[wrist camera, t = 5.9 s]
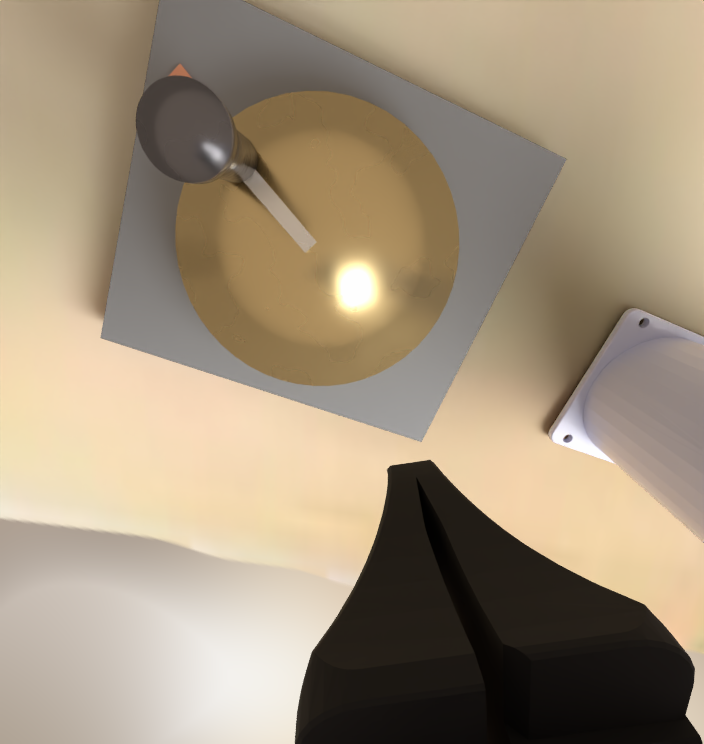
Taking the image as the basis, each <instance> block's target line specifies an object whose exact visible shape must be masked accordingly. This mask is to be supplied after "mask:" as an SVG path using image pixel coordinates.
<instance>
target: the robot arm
mask: <svg viewBox="0 0 704 744" xmlns="http://www.w3.org/2000/svg"><path fill="white" fill-rule="evenodd" d="M643 318H644V321H643V323H642V324H641V325H639V322H640V320H641V319H643ZM566 435H568V437H567V438H565V439H563V438H564V437H565V436H566ZM548 436H549V438H550V439H551V440H552V441H553V442H554V443H557V444H560V445H562V446H565V447H568V448H571V449H574V450H577V451H580V452H583V453H586V454H589V455H591V456H594V457H597V458H600V459H603V460H606V461H609V462H612V463H615V464H616V465H617V466H619V467H620V468H621V469H622V470H623V471H624V472H625V473H626V474H627V475H629V476H630V477H631V478H632V479H633V480H634V481H635V482H636V483H638V484H639V485H640V486H641V487H642V488H643V489H644V490H645V491H646V492H648V493H649V494H650V495H651V496H652V497H653V498H654V499H655V500H656V501H658V502H659V503H660V504H661V505H662V506H663V507H664V508H665V509H667V510H668V511H669V512H670V513H671V514H672V515H673V516H674V517H675V518H677V519H678V520H679V521H680V522H681V523H682V524H683V525H684V526H685V527H687V528H688V529H689V530H690V531H691V532H692V533H693V534H694V535H696V536H697V537H698V538H699V539H700V540H701V541H702V542H703V543H704V337H703V336H701V335H699V334H696V333H694V332H692V331H689V330H687V329H685V328H682V327H680V326H678V325H675V324H673V323H671V322H668V321H666V320H664V319H661V318H659V317H657V316H654V315H652V314H650V313H647V312H645V311H643V310H640V309H637V308H631V309H628V310H627V311H625V312H624V314H623V315H622V316H621V318H620V320H619V321H618V323H617V324H616V326H615V328H614V329H613V331H612V332H611V334H610V335H609V337H608V339H607V340H606V342H605V343H604V345H603V346H602V348H601V350H600V351H599V353H598V354H597V356H596V357H595V359H594V361H593V362H592V364H591V365H590V367H589V369H588V370H587V372H586V373H585V375H584V376H583V378H582V380H581V381H580V383H579V384H578V386H577V387H576V389H575V391H574V392H573V394H572V395H571V397H570V398H569V400H568V402H567V403H566V405H565V406H564V408H563V410H562V411H561V413H560V414H559V416H558V417H557V419H556V421H555V422H554V424H553V425H552V427H551V428H550V430H549V432H548ZM387 472H388V487H387V495H386V500H385V505H384V510H383V514H382V518H381V521H380V525H379V528H378V532H377V535H376V538H375V541H374V544H373V546H372V549H371V551H370V554H369V556H368V559H367V561H366V563H365V566H364V568H363V570H362V572H361V574H360V576H359V578H358V580H357V582H356V584H355V586H354V588H353V590H352V592H351V594H350V595H349V597H348V599H347V600H346V602H345V604H344V605H343V607H342V609H341V610H340V612H339V614H338V616H337V617H336V619H335V620H334V622H333V623H332V625H331V626H330V627H329V629H328V630H327V632H326V633H325V634H324V636H323V637H322V639H321V640H320V641H319V643H318V644H317V646H316V647H315V649H314V650H313V651H312V654H311V657H310V660H309V663H308V667H307V670H306V674H305V677H304V681H303V685H302V689H301V694H300V700H299V706H298V711H297V721H296V735H295V744H702V740H701V737H700V735H699V734H698V733H697V731H696V730H695V728H694V727H693V725H692V724H691V722H690V721H689V720H688V718H687V717H686V715H685V714H686V710H687V707H688V703H689V700H690V696H691V692H692V689H693V684H694V672H695V668H694V666H693V663H692V661H691V658H690V657H689V656H688V654H687V653H686V652H685V650H684V649H683V648H682V647H681V645H680V644H679V643H678V642H677V640H676V639H675V638H674V637H673V635H672V634H671V633H670V632H669V631H668V630H667V628H666V627H665V626H664V625H663V624H662V623H661V622H660V621H659V620H658V619H657V618H656V617H655V616H654V615H653V614H652V612H651V611H650V610H649V609H648V608H647V607H646V606H645V605H644V604H642V603H640V602H637V601H635V600H633V599H630V598H628V597H626V596H623V595H621V594H619V593H616V592H614V591H612V590H609V589H607V588H605V587H602V586H600V585H598V584H596V583H593V582H591V581H589V580H587V579H585V578H583V577H581V576H579V575H577V574H575V573H573V572H571V571H569V570H568V569H566V568H564V567H562V566H560V565H558V564H557V563H555V562H553V561H552V560H550V559H548V558H546V557H545V556H543V555H541V554H540V553H538V552H536V551H535V550H533V549H531V548H530V547H528V546H527V545H525V544H524V543H522V542H521V541H519V540H518V539H516V538H515V537H514V536H512V535H511V534H509V533H508V532H507V531H505V530H504V529H503V528H501V527H500V526H499V525H497V524H496V523H495V522H494V521H492V520H491V519H490V518H489V517H488V516H486V515H485V514H484V513H483V512H482V511H480V510H479V509H478V508H477V507H476V506H475V505H474V504H473V503H472V502H471V501H469V500H468V499H467V498H466V497H465V496H464V495H463V494H462V493H461V492H460V491H459V490H458V489H457V488H456V487H455V486H454V485H453V484H452V483H451V482H450V481H449V480H448V479H447V477H446V476H445V475H444V474H443V473H442V472H441V471H440V470H439V468H438V467H437V466H436V465H435V464H434V463H433V462H432V461H431V460H427V461H420V462H413V463H406V464H399V465H392V466H390V467H389V468H388V469H387Z"/></svg>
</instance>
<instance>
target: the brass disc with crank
mask: <svg viewBox="0 0 704 744" xmlns="http://www.w3.org/2000/svg"><path fill="white" fill-rule="evenodd" d="M136 128H137V134H138V138H139V141H140V144H141V146H142V149H143V151H144V152H145V154H146V156H147V157H148V159H149V160H150V161H151V162H152V164H153V165H154V166H155V167H156V168H157V169H158V170H159V171H161V172H162V173H163V174H165V175H167V176H168V177H170V178H172V179H175V180H177V181H181V182H184V185H183V188H182V191H181V195H180V199H179V203H178V207H177V216H176V224H175V246H176V253H177V260H178V266H179V270H180V274H181V278H182V281H183V285H184V287H185V290H186V292H187V294H188V297H189V299H190V302H191V304H192V305H193V307H194V309H195V311H196V313H197V314H198V316H199V318H200V319H201V321H202V322H203V323H204V325H205V326H206V328H207V329H208V330H209V332H210V333H211V334H212V335H213V336H214V337H215V338H216V339H217V340H218V342H219V343H220V344H221V345H222V346H223V347H224V348H226V349H227V350H228V351H229V352H230V353H231V354H233V355H234V356H235V357H236V358H238V359H239V360H241V361H242V362H244V363H245V364H247V365H248V366H250V367H252V368H254V369H256V370H258V371H260V372H261V373H263V374H266V375H268V376H271V377H274V378H276V379H279V380H282V381H286V382H291V383H295V384H301V385H310V386H333V385H341V384H347V383H351V382H356V381H360V380H363V379H366V378H368V377H371V376H373V375H376V374H378V373H380V372H382V371H384V370H386V369H388V368H390V367H391V366H393V365H394V364H396V363H397V362H399V361H400V360H402V359H403V358H404V357H406V356H407V355H408V354H409V353H410V352H411V351H412V350H414V349H415V348H416V347H417V346H418V345H419V344H420V343H421V341H422V340H423V339H424V338H425V337H426V336H427V335H428V333H429V332H430V331H431V329H432V328H433V326H434V325H435V323H436V322H437V320H438V319H439V317H440V315H441V313H442V311H443V309H444V307H445V306H446V304H447V301H448V298H449V296H450V293H451V290H452V288H453V284H454V280H455V276H456V272H457V266H458V257H459V226H458V219H457V212H456V208H455V204H454V201H453V197H452V194H451V190H450V188H449V186H448V183H447V181H446V179H445V176H444V174H443V172H442V170H441V168H440V167H439V165H438V163H437V162H436V160H435V158H434V157H433V155H432V154H431V152H430V151H429V150H428V149H427V147H426V146H425V145H424V143H423V142H422V141H421V140H420V138H419V137H417V136H416V135H415V134H414V133H413V132H412V131H411V130H410V129H409V128H408V127H407V126H406V125H405V124H404V123H402V122H401V121H400V120H398V119H397V118H395V117H394V116H393V115H391V114H390V113H389V112H387V111H385V110H383V109H381V108H379V107H377V106H376V105H374V104H372V103H370V102H367V101H364V100H362V99H359V98H356V97H353V96H350V95H346V94H340V93H335V92H329V91H300V92H292V93H285V94H282V95H278V96H275V97H271V98H268V99H265V100H263V101H261V102H259V103H256V104H254V105H252V106H250V107H248V108H246V109H245V110H243V111H242V112H240V113H239V114H237V115H236V116H234V117H233V118H232V116H231V113H230V112H229V110H228V108H227V107H226V106H225V104H224V103H223V102H222V101H221V100H220V98H219V97H218V96H217V95H216V94H215V93H214V92H213V91H212V90H210V89H209V88H208V87H207V86H205V85H204V84H202V83H201V82H199V81H197V80H195V79H193V78H190V77H186V76H177V75H174V76H167V77H164V78H161V79H159V80H157V81H155V82H154V83H153V84H151V85H150V86H149V87H148V88H147V89H146V91H145V92H144V94H143V95H142V97H141V99H140V102H139V104H138V108H137V113H136Z"/></svg>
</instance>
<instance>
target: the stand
mask: <svg viewBox="0 0 704 744" xmlns="http://www.w3.org/2000/svg"><path fill="white" fill-rule="evenodd" d="M174 75H177V76H186V77H190V78H193V79H195V80H197V81H199V82H201V83H202V84H204V85H205V86H207V87H208V88H209V89H210V90H212V91H213V92H214V93H215V94H216V95H217V96H218V97H219V98H220V100H221V101H222V102H223V103H224V104H225V106H226V107H227V108H228V110H229V112H230V113H231V116H232V118H233V117H234V116H236V115H237V114H239V113H240V112H242V111H243V110H245V109H246V108H248V107H250V106H252V105H254V104H256V103H259V102H261V101H263V100H265V99H268V98H271V97H275V96H278V95H282V94H285V93H292V92H300V91H329V92H335V93H340V94H346V95H350V96H353V97H356V98H359V99H362V100H364V101H367V102H370V103H372V104H374V105H376V106H377V107H379V108H381V109H383V110H385V111H387V112H389V113H390V114H391V115H393V116H394V117H395V118H397V119H398V120H400V121H401V122H402V123H404V124H405V125H406V126H407V127H408V128H409V129H410V130H411V131H412V132H413V133H414V134H415V135H416V136H417V137H419V138H420V140H421V141H422V142H423V143H424V145H425V146H426V147H427V149H428V150H429V151H430V152H431V154H432V155H433V157H434V158H435V160H436V162H437V163H438V165H439V167H440V168H441V170H442V172H443V174H444V176H445V179H446V181H447V183H448V186H449V188H450V190H451V194H452V197H453V201H454V204H455V208H456V212H457V219H458V226H459V257H458V266H457V272H456V276H455V280H454V284H453V288H452V290H451V293H450V296H449V298H448V301H447V304H446V306H445V307H444V309H443V311H442V313H441V315H440V317H439V319H438V320H437V322H436V323H435V325H434V326H433V328H432V329H431V331H430V332H429V333H428V335H427V336H426V337H425V338H424V339H423V340H422V341H421V343H420V344H419V345H418V346H417V347H416V348H415V349H414V350H412V351H411V352H410V353H409V354H408V355H407V356H406V357H404V358H403V359H402V360H400V361H399V362H397V363H396V364H394V365H393V366H391V367H390V368H388V369H386V370H384V371H382V372H380V373H378V374H376V375H373V376H371V377H368V378H366V379H363V380H360V381H356V382H351V383H347V384H341V385H333V386H310V385H301V384H295V383H291V382H286V381H282V380H279V379H276V378H274V377H271V376H268V375H266V374H263V373H261V372H260V371H258V370H256V369H254V368H252V367H250V366H248V365H247V364H245V363H244V362H242V361H241V360H239V359H238V358H236V357H235V356H234V355H233V354H231V353H230V352H229V351H228V350H227V349H226V348H224V347H223V346H222V345H221V344H220V343H219V342H218V340H217V339H216V338H215V337H214V336H213V335H212V334H211V333H210V332H209V330H208V329H207V328H206V326H205V325H204V323H203V322H202V321H201V319H200V318H199V316H198V314H197V313H196V311H195V309H194V307H193V305H192V304H191V302H190V299H189V297H188V294H187V292H186V290H185V287H184V285H183V281H182V278H181V274H180V270H179V266H178V260H177V253H176V246H175V224H176V216H177V207H178V203H179V199H180V195H181V191H182V188H183V185H184V182H181V181H177V180H175V179H172V178H170V177H168V176H167V175H165V174H163V173H162V172H161V171H159V170H158V169H157V168H156V167H155V166H154V165H153V164H152V162H151V161H150V160H149V159H148V157H147V156H146V154H145V152H144V151H143V149H142V146H141V144H140V141H139V138H138V134H137V132H136V138H135V144H134V149H133V155H132V161H131V167H130V172H129V178H128V184H127V190H126V195H125V201H124V207H123V213H122V218H121V224H120V230H119V235H118V241H117V247H116V253H115V258H114V264H113V270H112V276H111V281H110V287H109V293H108V299H107V304H106V310H105V316H104V322H103V327H102V333H101V338H102V339H105V340H108V341H111V342H114V343H118V344H121V345H124V346H127V347H130V348H133V349H136V350H139V351H142V352H145V353H148V354H152V355H155V356H158V357H161V358H164V359H167V360H170V361H173V362H176V363H179V364H182V365H186V366H189V367H192V368H195V369H198V370H201V371H204V372H207V373H210V374H213V375H216V376H219V377H223V378H226V379H229V380H232V381H235V382H238V383H241V384H244V385H247V386H250V387H253V388H257V389H260V390H263V391H266V392H269V393H272V394H275V395H278V396H281V397H284V398H287V399H290V400H294V401H297V402H300V403H303V404H306V405H309V406H312V407H315V408H318V409H321V410H324V411H328V412H331V413H334V414H337V415H340V416H343V417H346V418H349V419H352V420H355V421H358V422H362V423H365V424H368V425H371V426H374V427H377V428H380V429H383V430H386V431H389V432H392V433H395V434H399V435H402V436H405V437H408V438H411V439H414V440H417V441H420V442H422V440H423V438H424V436H425V434H426V432H427V430H428V428H429V426H430V424H431V422H432V420H433V418H434V416H435V415H436V413H437V411H438V409H439V407H440V405H441V403H442V401H443V399H444V397H445V395H446V393H447V391H448V389H449V387H450V385H451V383H452V381H453V379H454V378H455V376H456V374H457V372H458V370H459V368H460V366H461V364H462V362H463V360H464V358H465V356H466V354H467V352H468V350H469V348H470V346H471V344H472V342H473V340H474V339H475V337H476V335H477V333H478V331H479V329H480V327H481V325H482V323H483V321H484V319H485V317H486V315H487V313H488V311H489V309H490V307H491V305H492V303H493V302H494V300H495V298H496V296H497V294H498V292H499V290H500V288H501V286H502V284H503V282H504V280H505V278H506V276H507V274H508V272H509V270H510V268H511V266H512V265H513V263H514V261H515V259H516V257H517V255H518V253H519V251H520V249H521V247H522V245H523V243H524V241H525V239H526V237H527V235H528V233H529V231H530V229H531V228H532V226H533V224H534V222H535V220H536V218H537V216H538V214H539V212H540V210H541V208H542V206H543V204H544V202H545V200H546V198H547V196H548V194H549V192H550V191H551V189H552V187H553V185H554V183H555V181H556V179H557V177H558V175H559V173H560V171H561V169H562V167H563V165H564V163H565V161H566V158H564V157H561V156H559V155H557V154H555V153H553V152H551V151H549V150H547V149H545V148H543V147H541V146H539V145H537V144H535V143H533V142H531V141H529V140H527V139H525V138H523V137H521V136H519V135H517V134H514V133H512V132H510V131H508V130H506V129H504V128H502V127H500V126H498V125H496V124H494V123H492V122H490V121H488V120H486V119H484V118H482V117H480V116H478V115H476V114H474V113H472V112H470V111H468V110H465V109H463V108H461V107H459V106H457V105H455V104H453V103H451V102H449V101H447V100H445V99H443V98H441V97H439V96H437V95H435V94H433V93H431V92H429V91H427V90H425V89H423V88H421V87H418V86H416V85H414V84H412V83H410V82H408V81H406V80H404V79H402V78H400V77H398V76H396V75H394V74H392V73H390V72H388V71H386V70H384V69H382V68H380V67H378V66H376V65H374V64H372V63H369V62H367V61H365V60H363V59H361V58H359V57H357V56H355V55H353V54H351V53H349V52H347V51H345V50H343V49H341V48H339V47H337V46H335V45H333V44H331V43H329V42H327V41H325V40H322V39H320V38H318V37H316V36H314V35H312V34H310V33H308V32H306V31H304V30H302V29H300V28H298V27H296V26H294V25H292V24H290V23H288V22H286V21H284V20H282V19H280V18H278V17H275V16H273V15H271V14H269V13H267V12H265V11H263V10H261V9H259V8H257V7H255V6H253V5H251V4H249V3H247V2H245V1H243V0H159V6H158V12H157V18H156V23H155V29H154V35H153V40H152V46H151V52H150V58H149V63H148V69H147V75H146V81H145V86H144V92H145V91H146V89H147V88H148V87H149V86H150V85H151V84H153V83H154V82H155V81H157V80H159V79H161V78H164V77H167V76H174ZM144 92H143V94H144Z"/></svg>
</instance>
